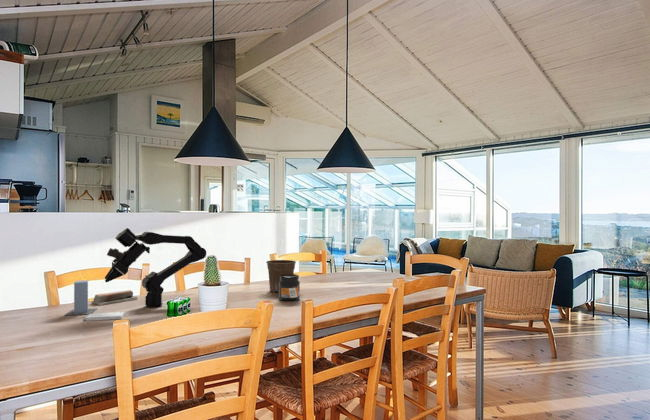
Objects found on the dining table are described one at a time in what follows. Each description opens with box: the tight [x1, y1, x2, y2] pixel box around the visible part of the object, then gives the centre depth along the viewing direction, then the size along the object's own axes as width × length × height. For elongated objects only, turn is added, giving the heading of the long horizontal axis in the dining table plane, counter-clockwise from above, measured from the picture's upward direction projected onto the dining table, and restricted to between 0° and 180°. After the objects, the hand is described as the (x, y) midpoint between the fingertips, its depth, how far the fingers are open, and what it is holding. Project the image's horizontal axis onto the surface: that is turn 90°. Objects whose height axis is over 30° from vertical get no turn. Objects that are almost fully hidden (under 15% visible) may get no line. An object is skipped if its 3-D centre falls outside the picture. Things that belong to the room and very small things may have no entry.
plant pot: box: [266, 259, 297, 293], centre depth 244 cm, size 16×16×16 cm
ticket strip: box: [83, 311, 126, 322], centre depth 183 cm, size 14×7×1 cm, turn 103°
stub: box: [73, 279, 89, 313], centre depth 192 cm, size 5×5×13 cm
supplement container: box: [278, 273, 301, 302], centre depth 221 cm, size 10×10×12 cm
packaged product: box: [91, 289, 139, 306], centre depth 216 cm, size 18×5×10 cm
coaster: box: [63, 308, 98, 317], centre depth 192 cm, size 10×10×1 cm
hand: (105, 280), depth 195 cm, fingers open, 9 cm apart
